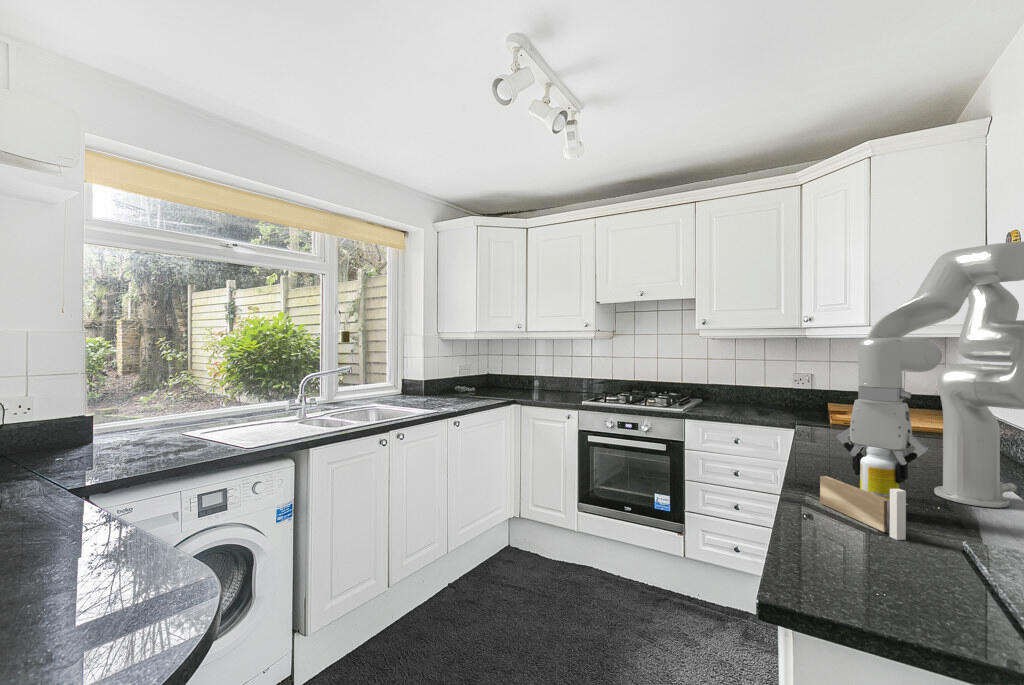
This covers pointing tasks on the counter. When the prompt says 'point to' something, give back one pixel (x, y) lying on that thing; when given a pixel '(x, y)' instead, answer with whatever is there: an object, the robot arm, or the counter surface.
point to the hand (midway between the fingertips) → (879, 477)
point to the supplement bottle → (878, 472)
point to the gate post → (898, 514)
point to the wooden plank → (856, 503)
